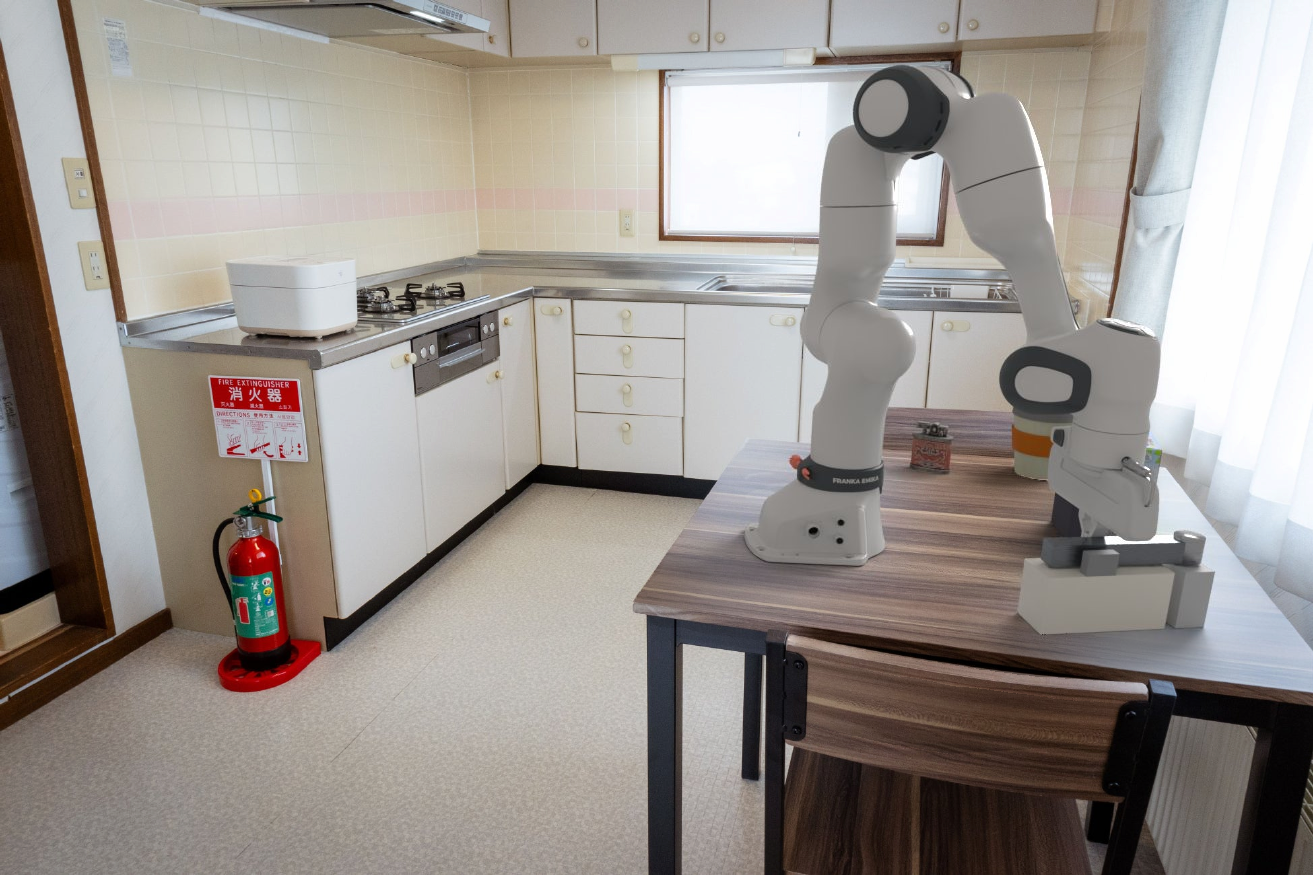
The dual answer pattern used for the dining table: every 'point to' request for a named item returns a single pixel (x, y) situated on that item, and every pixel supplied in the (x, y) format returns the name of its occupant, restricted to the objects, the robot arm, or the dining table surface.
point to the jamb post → (1189, 595)
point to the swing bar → (1127, 549)
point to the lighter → (931, 448)
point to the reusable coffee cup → (1034, 441)
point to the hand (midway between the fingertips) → (1090, 545)
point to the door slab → (1094, 595)
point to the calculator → (1066, 517)
